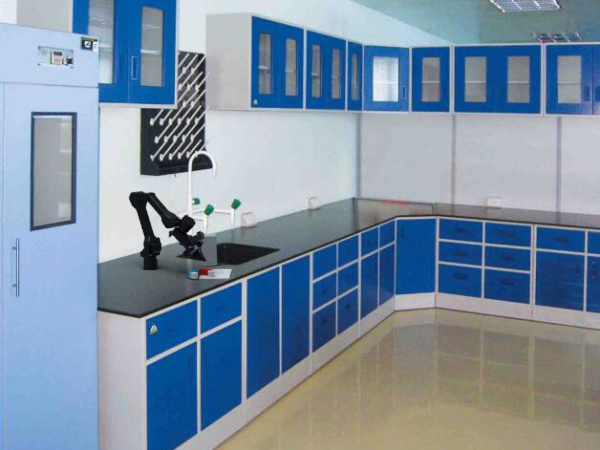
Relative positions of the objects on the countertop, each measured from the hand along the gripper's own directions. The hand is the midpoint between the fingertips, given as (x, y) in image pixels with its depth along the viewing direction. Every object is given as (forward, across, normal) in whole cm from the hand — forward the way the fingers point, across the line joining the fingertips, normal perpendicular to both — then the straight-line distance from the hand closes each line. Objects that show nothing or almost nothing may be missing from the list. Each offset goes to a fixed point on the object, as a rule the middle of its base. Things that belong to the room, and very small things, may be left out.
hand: (205, 261), depth 368 cm
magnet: (0, -1, +6) cm, 6 cm away
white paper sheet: (+8, +2, +2) cm, 8 cm away
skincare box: (+2, +22, +8) cm, 24 cm away
